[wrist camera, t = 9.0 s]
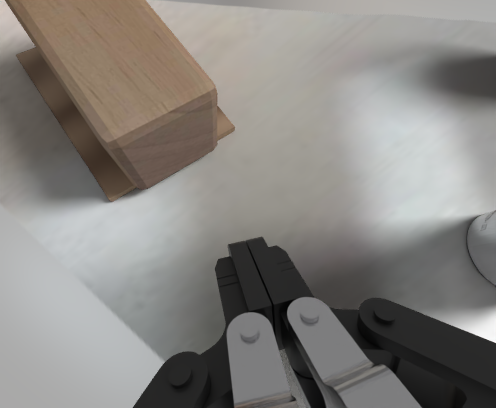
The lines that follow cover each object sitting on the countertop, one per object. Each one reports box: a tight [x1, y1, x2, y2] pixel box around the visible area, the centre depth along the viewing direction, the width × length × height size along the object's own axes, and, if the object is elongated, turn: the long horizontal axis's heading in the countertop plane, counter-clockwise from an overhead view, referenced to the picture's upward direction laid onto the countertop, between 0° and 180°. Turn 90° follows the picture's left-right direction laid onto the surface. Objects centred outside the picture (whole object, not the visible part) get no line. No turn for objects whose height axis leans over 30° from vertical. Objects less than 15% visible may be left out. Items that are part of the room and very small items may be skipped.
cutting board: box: [16, 47, 235, 202], centre depth 31 cm, size 22×16×1 cm
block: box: [5, 0, 217, 190], centre depth 26 cm, size 10×10×20 cm
